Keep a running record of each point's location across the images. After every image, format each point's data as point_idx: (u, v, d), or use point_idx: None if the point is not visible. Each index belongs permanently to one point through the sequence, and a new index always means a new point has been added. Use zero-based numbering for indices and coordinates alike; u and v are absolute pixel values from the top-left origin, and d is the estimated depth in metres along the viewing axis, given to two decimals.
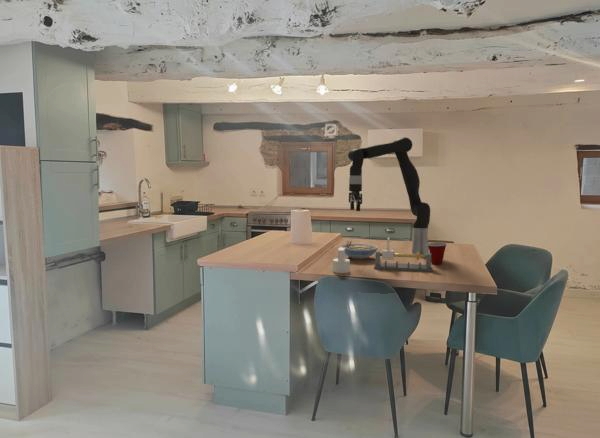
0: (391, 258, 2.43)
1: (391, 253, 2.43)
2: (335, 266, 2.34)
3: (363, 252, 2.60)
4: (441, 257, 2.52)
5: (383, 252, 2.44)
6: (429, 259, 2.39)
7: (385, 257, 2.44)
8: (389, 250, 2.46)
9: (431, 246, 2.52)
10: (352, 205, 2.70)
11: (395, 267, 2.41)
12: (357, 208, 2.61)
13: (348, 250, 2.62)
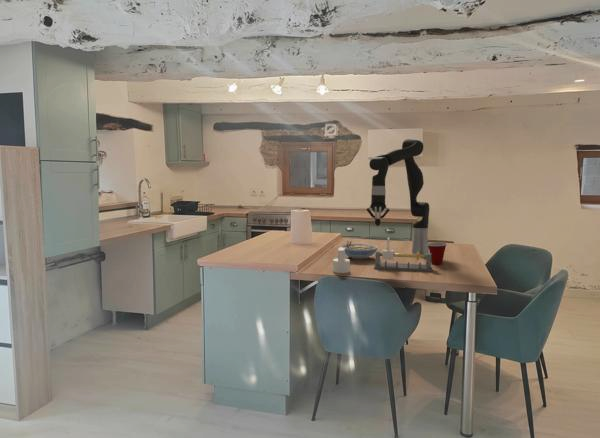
0: (391, 258, 2.43)
1: (391, 253, 2.43)
2: (335, 266, 2.34)
3: (363, 252, 2.60)
4: (441, 257, 2.52)
5: (383, 252, 2.44)
6: (429, 259, 2.39)
7: (385, 257, 2.44)
8: (389, 250, 2.46)
9: (431, 246, 2.52)
10: None
11: (395, 267, 2.41)
12: None
13: (348, 250, 2.62)
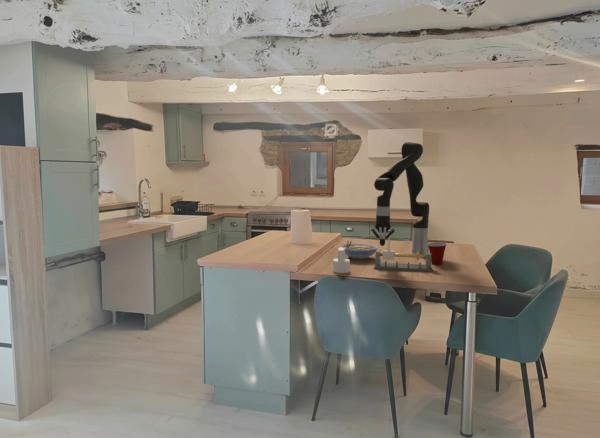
0: (392, 258, 2.43)
1: (391, 253, 2.43)
2: (335, 266, 2.34)
3: (363, 252, 2.60)
4: (441, 257, 2.52)
5: (384, 252, 2.44)
6: (429, 259, 2.39)
7: (386, 257, 2.44)
8: (390, 250, 2.46)
9: (431, 246, 2.52)
10: None
11: (395, 267, 2.41)
12: None
13: (348, 250, 2.62)
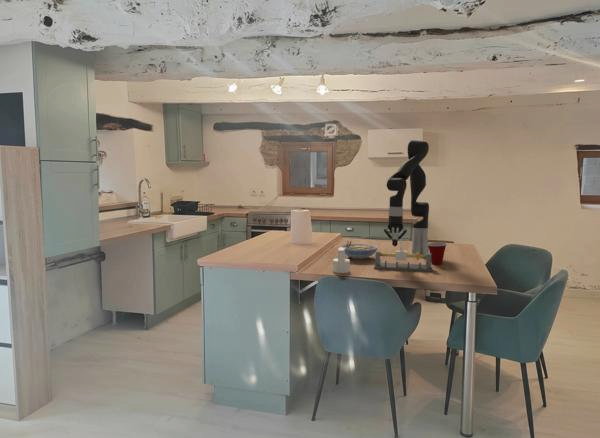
0: (404, 259, 2.42)
1: (404, 253, 2.42)
2: (335, 266, 2.34)
3: (363, 252, 2.60)
4: (441, 257, 2.52)
5: (396, 253, 2.42)
6: (429, 259, 2.39)
7: (398, 258, 2.42)
8: (402, 251, 2.45)
9: (431, 246, 2.52)
10: None
11: (395, 267, 2.41)
12: None
13: (348, 250, 2.62)
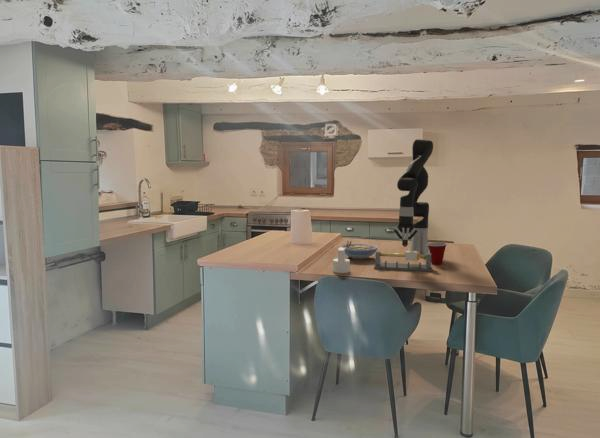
0: (414, 259, 2.41)
1: (414, 254, 2.40)
2: (335, 266, 2.34)
3: (363, 252, 2.60)
4: (441, 257, 2.52)
5: (406, 253, 2.41)
6: (429, 259, 2.39)
7: (408, 258, 2.41)
8: (412, 251, 2.43)
9: (431, 246, 2.52)
10: None
11: (395, 267, 2.41)
12: None
13: (348, 250, 2.62)
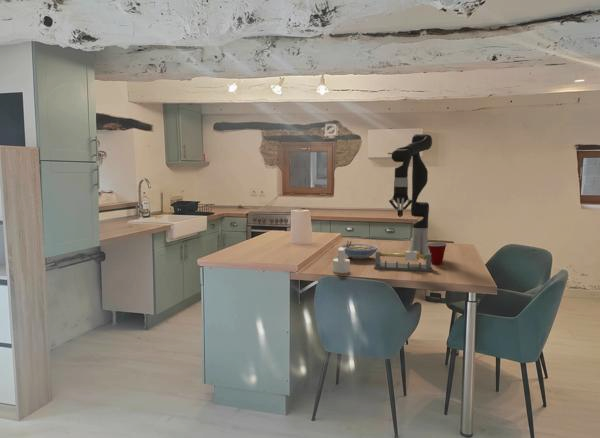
0: (414, 259, 2.41)
1: (414, 254, 2.40)
2: (335, 266, 2.34)
3: (363, 252, 2.60)
4: (441, 257, 2.52)
5: (406, 253, 2.41)
6: (429, 259, 2.39)
7: (408, 258, 2.41)
8: (412, 251, 2.43)
9: (431, 246, 2.52)
10: None
11: (395, 267, 2.41)
12: None
13: (348, 250, 2.62)
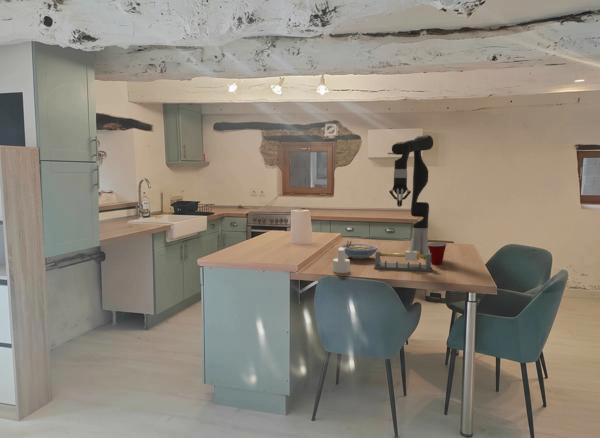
0: (414, 259, 2.41)
1: (414, 254, 2.40)
2: (335, 266, 2.34)
3: (363, 252, 2.60)
4: (441, 257, 2.52)
5: (406, 253, 2.41)
6: (429, 259, 2.39)
7: (408, 258, 2.41)
8: (412, 251, 2.43)
9: (431, 246, 2.52)
10: None
11: (395, 267, 2.41)
12: None
13: (348, 250, 2.62)
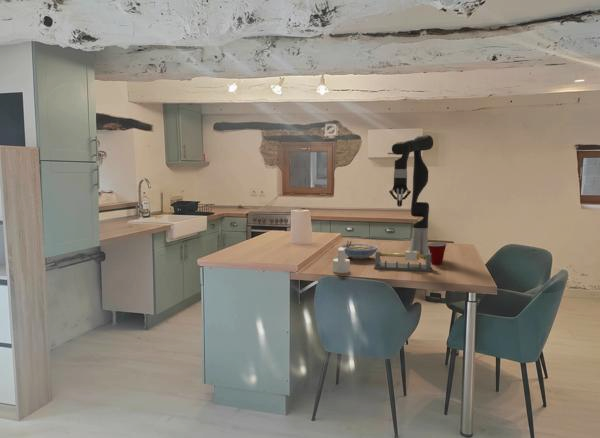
0: (414, 259, 2.41)
1: (414, 254, 2.40)
2: (335, 266, 2.34)
3: (363, 252, 2.60)
4: (441, 257, 2.52)
5: (406, 253, 2.41)
6: (429, 259, 2.39)
7: (408, 258, 2.41)
8: (412, 251, 2.43)
9: (431, 246, 2.52)
10: None
11: (395, 267, 2.41)
12: None
13: (348, 250, 2.62)
